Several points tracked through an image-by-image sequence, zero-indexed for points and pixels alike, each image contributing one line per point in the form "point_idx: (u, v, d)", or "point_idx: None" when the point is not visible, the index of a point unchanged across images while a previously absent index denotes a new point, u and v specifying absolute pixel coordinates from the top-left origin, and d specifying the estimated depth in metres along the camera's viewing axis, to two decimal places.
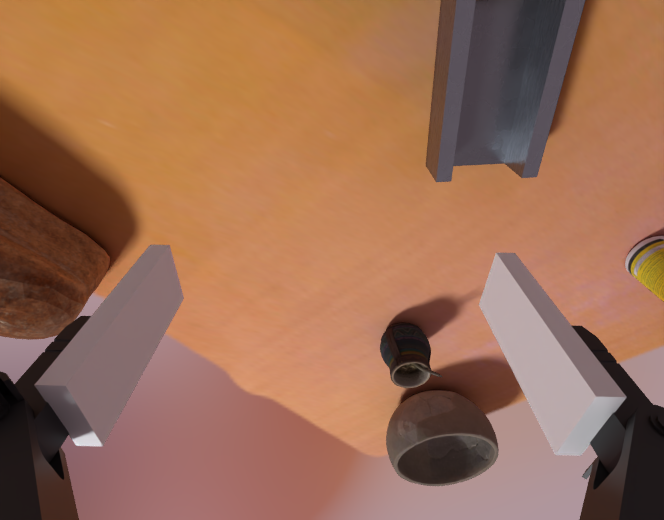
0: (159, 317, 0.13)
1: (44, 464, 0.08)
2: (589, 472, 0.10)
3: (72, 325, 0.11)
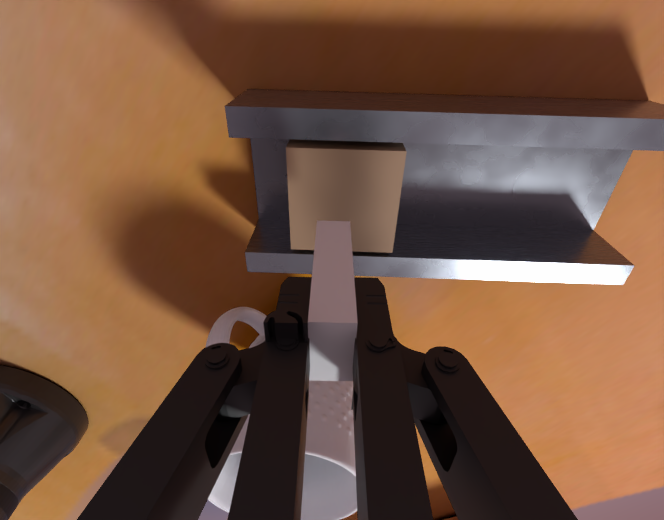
0: None
1: (304, 403, 0.09)
2: None
3: (286, 283, 0.13)
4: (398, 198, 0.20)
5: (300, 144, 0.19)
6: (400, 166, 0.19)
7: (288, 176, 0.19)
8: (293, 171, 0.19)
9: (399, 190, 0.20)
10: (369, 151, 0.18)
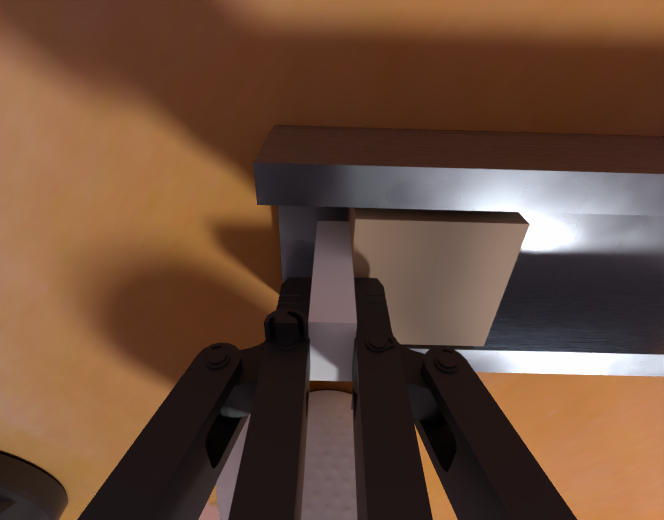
0: None
1: (304, 403, 0.09)
2: None
3: (286, 283, 0.13)
4: (505, 282, 0.14)
5: (373, 212, 0.13)
6: (516, 243, 0.13)
7: (354, 256, 0.13)
8: (362, 249, 0.13)
9: (509, 273, 0.14)
10: (476, 224, 0.13)
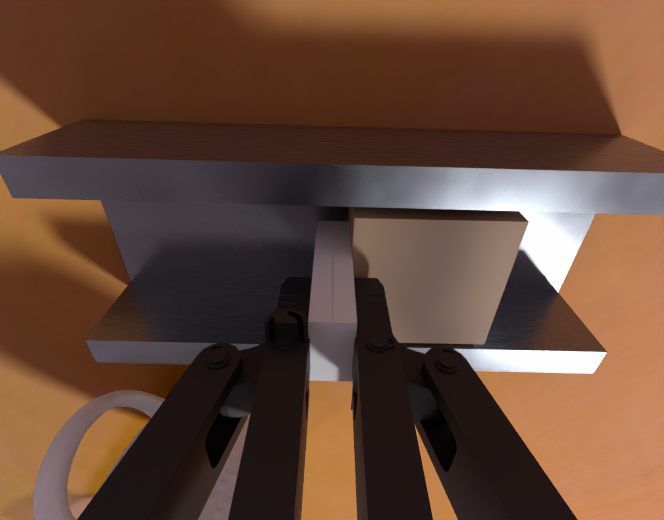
0: None
1: (304, 403, 0.09)
2: None
3: (286, 283, 0.13)
4: (505, 280, 0.14)
5: (372, 211, 0.13)
6: (516, 241, 0.13)
7: (353, 255, 0.13)
8: (361, 248, 0.13)
9: (508, 271, 0.14)
10: (474, 222, 0.13)
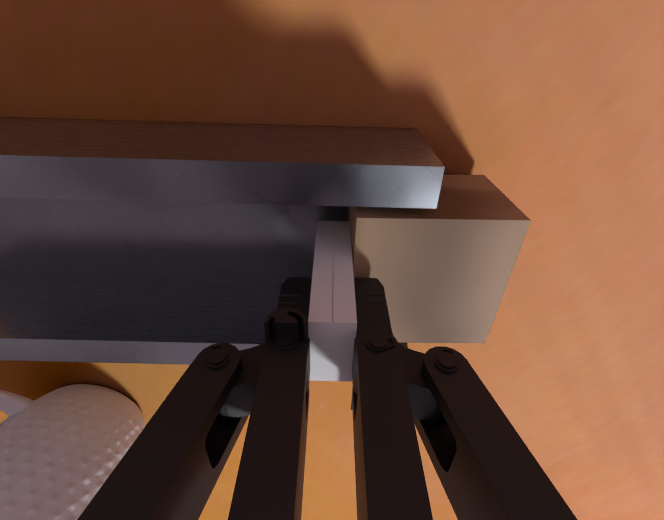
0: None
1: (304, 403, 0.09)
2: None
3: (286, 283, 0.13)
4: (506, 279, 0.14)
5: (374, 210, 0.13)
6: (517, 239, 0.13)
7: (355, 255, 0.13)
8: (364, 248, 0.13)
9: (510, 269, 0.14)
10: (477, 221, 0.13)
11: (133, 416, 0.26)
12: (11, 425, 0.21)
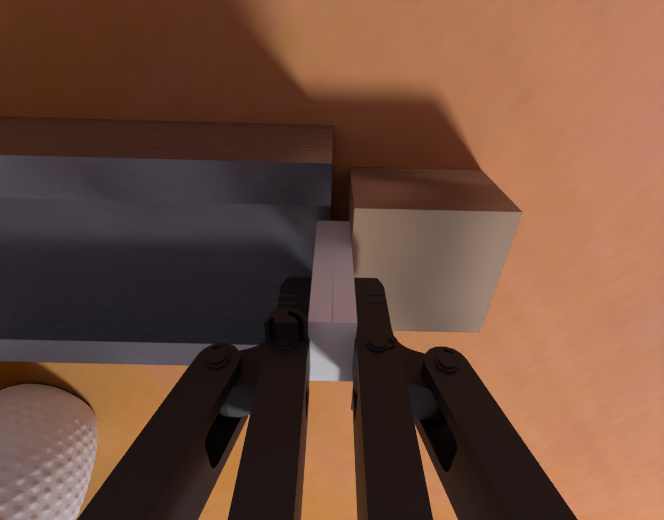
0: None
1: (304, 403, 0.09)
2: None
3: (286, 283, 0.13)
4: (500, 269, 0.15)
5: (371, 201, 0.14)
6: (510, 231, 0.14)
7: (353, 244, 0.14)
8: (361, 238, 0.14)
9: (503, 260, 0.14)
10: (470, 212, 0.13)
11: (81, 416, 0.25)
12: None
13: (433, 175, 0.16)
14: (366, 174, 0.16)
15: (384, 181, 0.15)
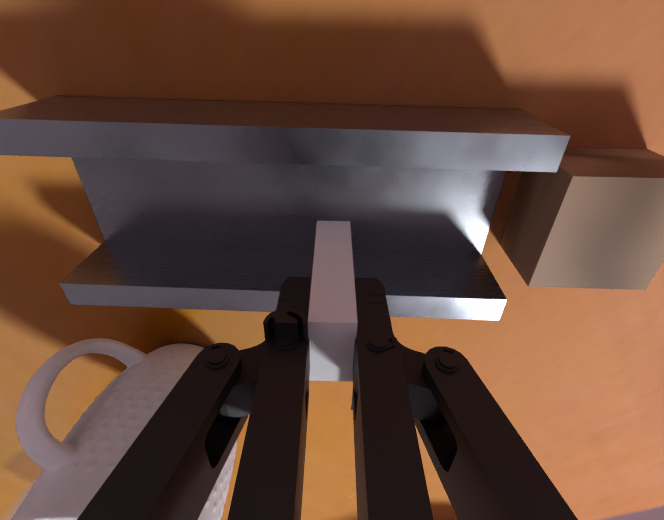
0: None
1: (304, 403, 0.09)
2: None
3: (286, 283, 0.13)
4: None
5: (581, 171, 0.16)
6: None
7: (561, 208, 0.17)
8: (570, 202, 0.16)
9: None
10: None
11: None
12: (136, 372, 0.25)
13: (609, 152, 0.19)
14: None
15: (573, 157, 0.18)
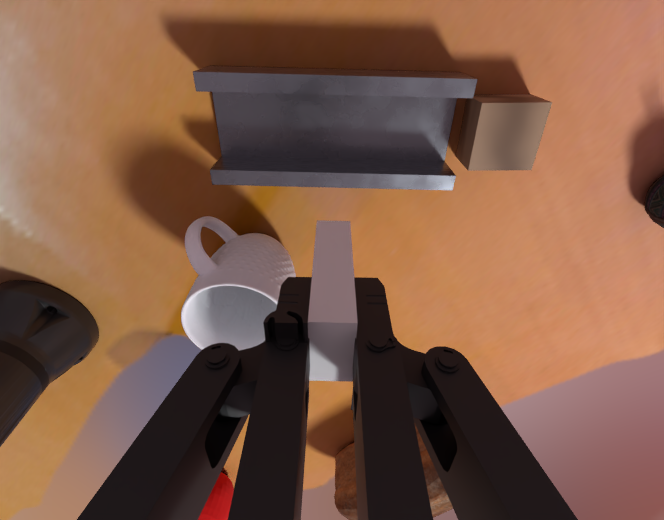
0: None
1: (304, 403, 0.09)
2: None
3: (286, 283, 0.13)
4: (541, 132, 0.33)
5: (487, 101, 0.32)
6: (546, 111, 0.32)
7: (479, 121, 0.33)
8: (482, 117, 0.33)
9: (543, 127, 0.33)
10: (530, 103, 0.32)
11: None
12: (237, 239, 0.40)
13: (508, 95, 0.35)
14: (477, 96, 0.35)
15: (487, 97, 0.34)
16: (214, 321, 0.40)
